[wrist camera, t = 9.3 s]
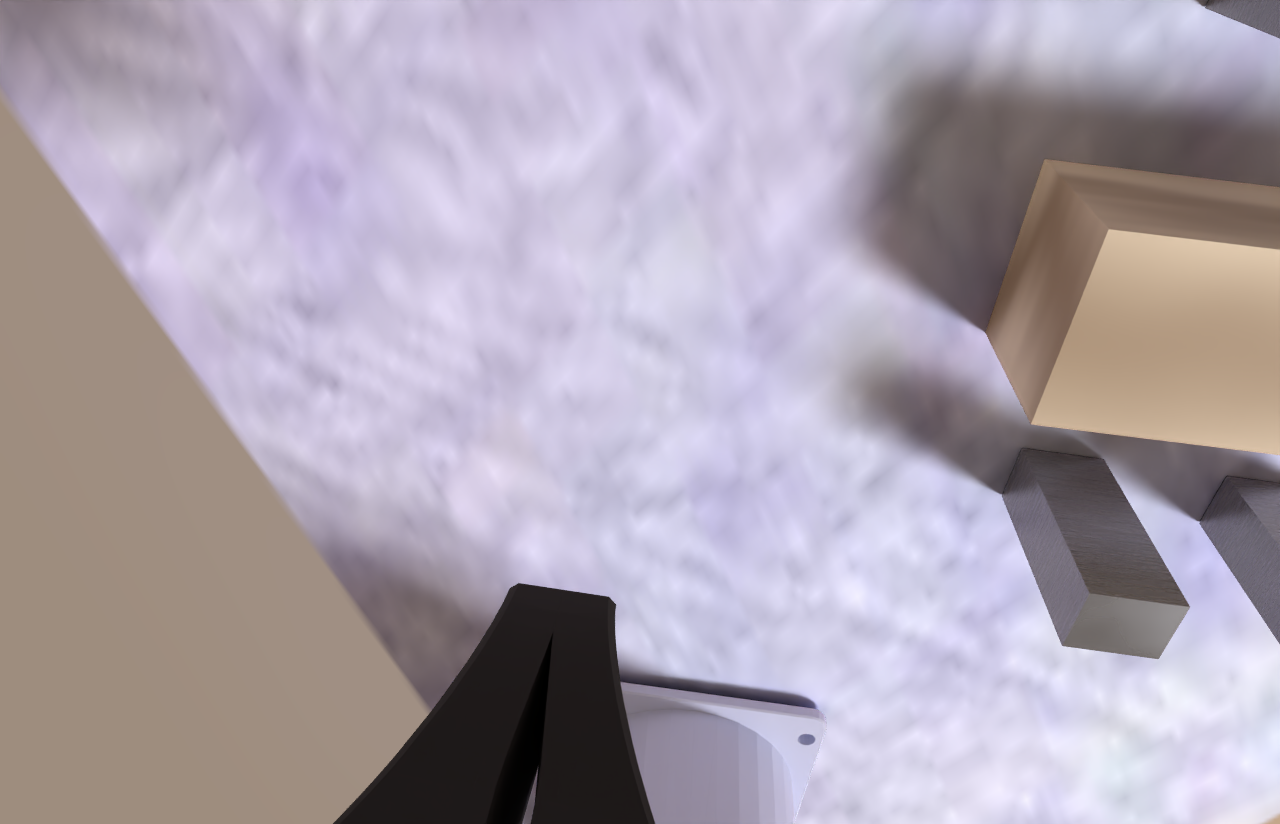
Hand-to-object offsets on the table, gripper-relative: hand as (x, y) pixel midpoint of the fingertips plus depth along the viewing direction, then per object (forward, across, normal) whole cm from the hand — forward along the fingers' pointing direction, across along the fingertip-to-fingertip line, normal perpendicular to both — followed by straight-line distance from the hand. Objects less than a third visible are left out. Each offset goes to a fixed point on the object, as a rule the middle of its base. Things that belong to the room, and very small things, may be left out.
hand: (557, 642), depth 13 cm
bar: (+11, -14, -3) cm, 18 cm away
